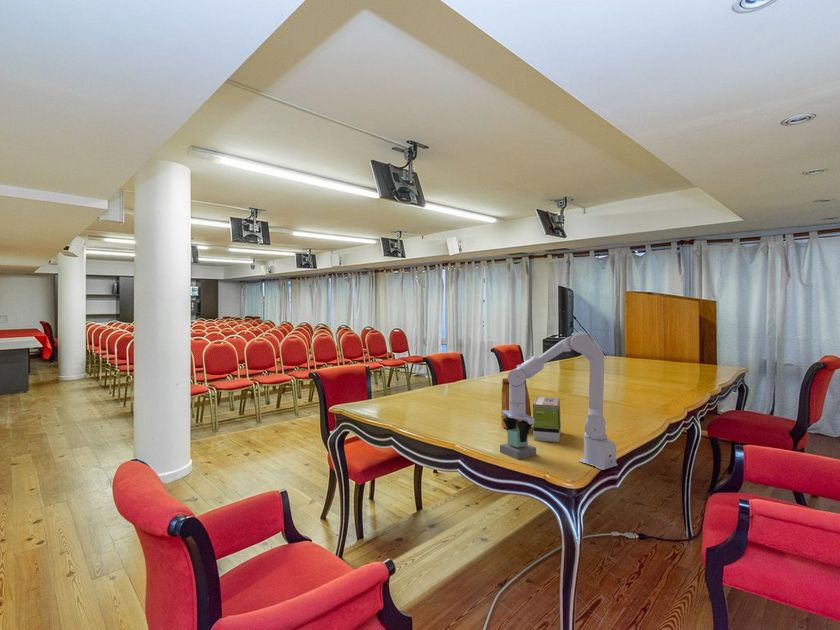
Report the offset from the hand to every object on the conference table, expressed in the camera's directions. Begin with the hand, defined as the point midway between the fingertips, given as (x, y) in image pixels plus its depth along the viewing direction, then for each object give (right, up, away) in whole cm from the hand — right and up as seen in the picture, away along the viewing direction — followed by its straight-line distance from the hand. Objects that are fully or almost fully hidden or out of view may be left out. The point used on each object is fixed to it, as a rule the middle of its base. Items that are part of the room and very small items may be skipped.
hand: (517, 439), depth 148 cm
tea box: (+17, -5, +20) cm, 27 cm away
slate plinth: (0, -5, 0) cm, 5 cm away
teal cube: (0, -2, 0) cm, 2 cm away
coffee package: (+7, -5, +33) cm, 34 cm away
